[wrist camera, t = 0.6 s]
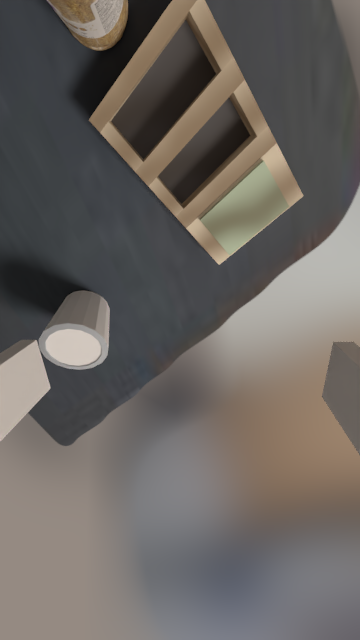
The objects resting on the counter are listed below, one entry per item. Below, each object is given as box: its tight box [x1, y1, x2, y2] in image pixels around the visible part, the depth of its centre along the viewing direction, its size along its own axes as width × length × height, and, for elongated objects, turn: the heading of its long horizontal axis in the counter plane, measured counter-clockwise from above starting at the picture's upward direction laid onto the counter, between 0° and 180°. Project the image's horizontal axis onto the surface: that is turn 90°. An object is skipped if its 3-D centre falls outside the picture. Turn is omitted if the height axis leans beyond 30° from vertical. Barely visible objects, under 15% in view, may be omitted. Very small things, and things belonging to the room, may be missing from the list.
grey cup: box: [39, 290, 110, 370], centre depth 28 cm, size 7×7×7 cm
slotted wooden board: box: [89, 0, 303, 265], centre depth 21 cm, size 16×10×2 cm, turn 42°
